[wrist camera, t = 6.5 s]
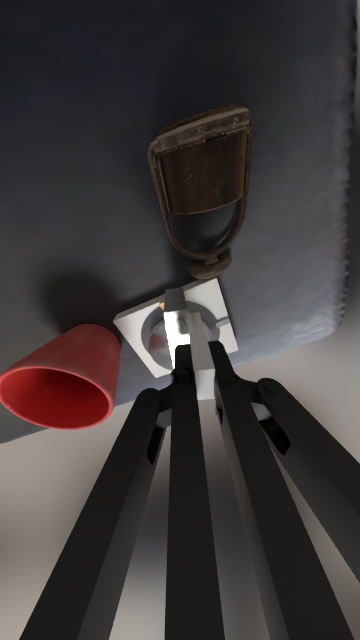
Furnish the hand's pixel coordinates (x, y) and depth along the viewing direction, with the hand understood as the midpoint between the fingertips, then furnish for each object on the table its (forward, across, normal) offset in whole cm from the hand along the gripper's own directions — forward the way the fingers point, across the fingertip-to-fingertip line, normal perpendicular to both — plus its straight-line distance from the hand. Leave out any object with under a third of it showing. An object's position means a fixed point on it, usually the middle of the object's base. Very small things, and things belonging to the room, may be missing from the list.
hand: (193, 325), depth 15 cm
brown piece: (+8, -1, -9) cm, 12 cm away
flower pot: (+7, +15, +6) cm, 18 cm away
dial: (+5, +2, +3) cm, 6 cm away
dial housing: (+7, +2, +5) cm, 9 cm away
